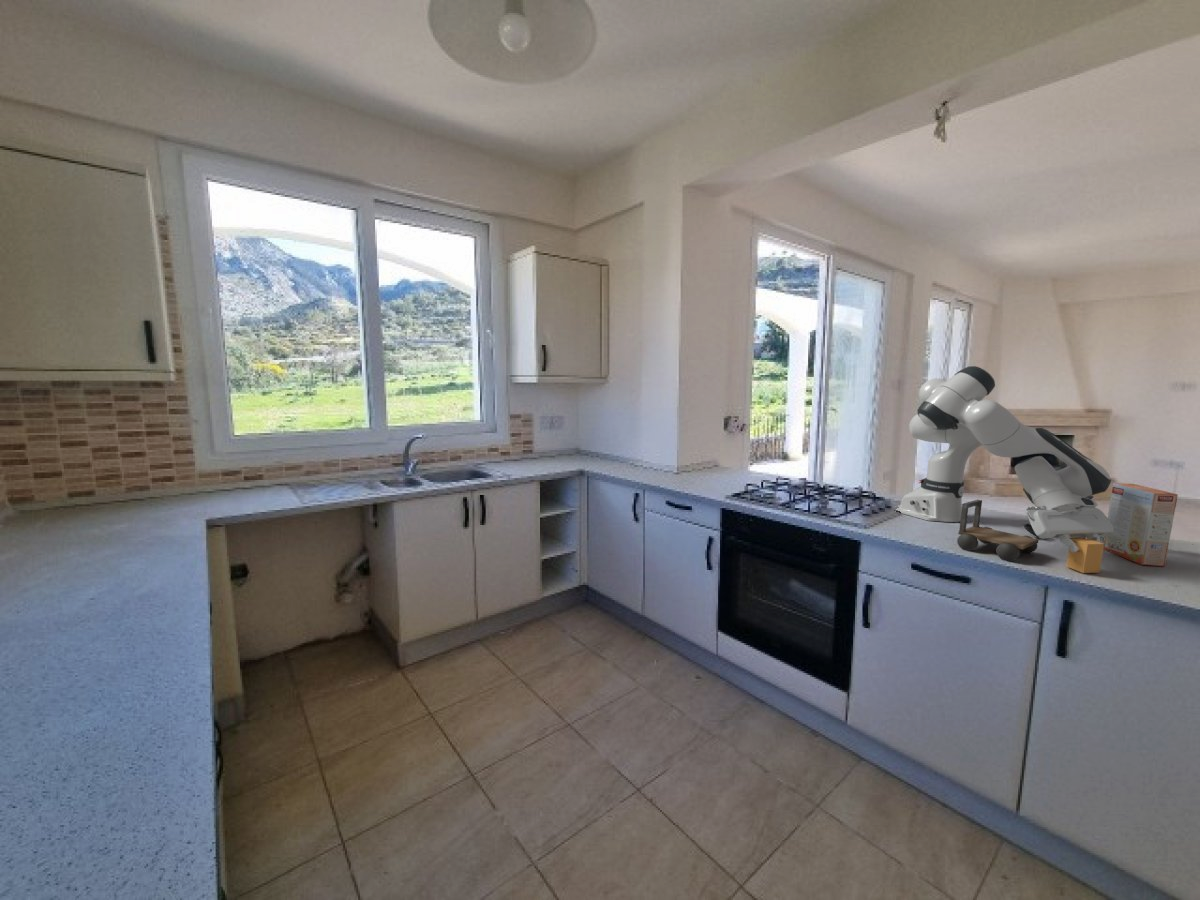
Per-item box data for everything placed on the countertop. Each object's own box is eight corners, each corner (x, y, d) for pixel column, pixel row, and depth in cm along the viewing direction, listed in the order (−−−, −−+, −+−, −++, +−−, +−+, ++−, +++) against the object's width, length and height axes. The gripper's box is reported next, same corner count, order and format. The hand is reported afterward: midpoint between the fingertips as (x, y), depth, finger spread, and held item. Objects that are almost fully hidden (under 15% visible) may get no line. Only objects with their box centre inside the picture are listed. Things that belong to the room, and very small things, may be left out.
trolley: (954, 547, 152) (959, 504, 150) (975, 539, 160) (980, 498, 158) (1018, 564, 139) (1024, 517, 137) (1038, 555, 146) (1044, 510, 144)
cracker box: (1166, 567, 137) (1179, 493, 134) (1140, 565, 138) (1153, 492, 135) (1124, 550, 150) (1135, 483, 147) (1101, 548, 152) (1111, 482, 148)
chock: (1066, 566, 136) (1070, 538, 135) (1082, 566, 137) (1086, 538, 135) (1083, 573, 132) (1087, 544, 131) (1099, 572, 132) (1104, 543, 131)
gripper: (1031, 501, 138) (1060, 546, 130) (1100, 500, 139) (1133, 545, 131) (1015, 512, 143) (1042, 556, 135) (1081, 511, 144) (1112, 555, 136)
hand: (1088, 551), depth 133 cm, fingers closed on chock, 5 cm apart
